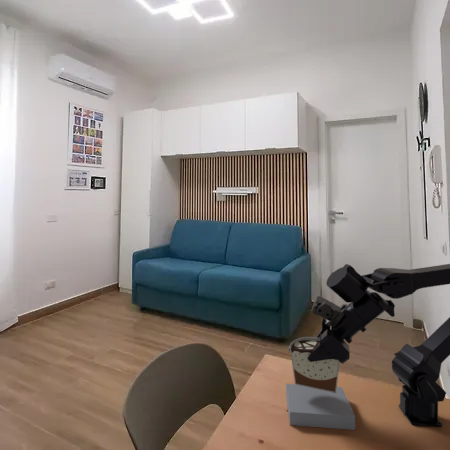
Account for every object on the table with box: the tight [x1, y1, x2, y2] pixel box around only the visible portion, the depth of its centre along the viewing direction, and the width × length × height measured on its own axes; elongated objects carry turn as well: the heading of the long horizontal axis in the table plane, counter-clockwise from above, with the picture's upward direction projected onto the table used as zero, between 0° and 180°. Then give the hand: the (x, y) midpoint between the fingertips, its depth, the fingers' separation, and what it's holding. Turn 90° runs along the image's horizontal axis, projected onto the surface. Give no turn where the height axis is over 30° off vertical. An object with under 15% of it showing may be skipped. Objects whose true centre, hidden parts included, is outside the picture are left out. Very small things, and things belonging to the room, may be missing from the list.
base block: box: [285, 383, 356, 431], centre depth 71 cm, size 14×11×3 cm
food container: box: [287, 336, 341, 393], centre depth 72 cm, size 12×6×10 cm, turn 66°
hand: (310, 353), depth 72 cm, fingers closed on food container, 6 cm apart
